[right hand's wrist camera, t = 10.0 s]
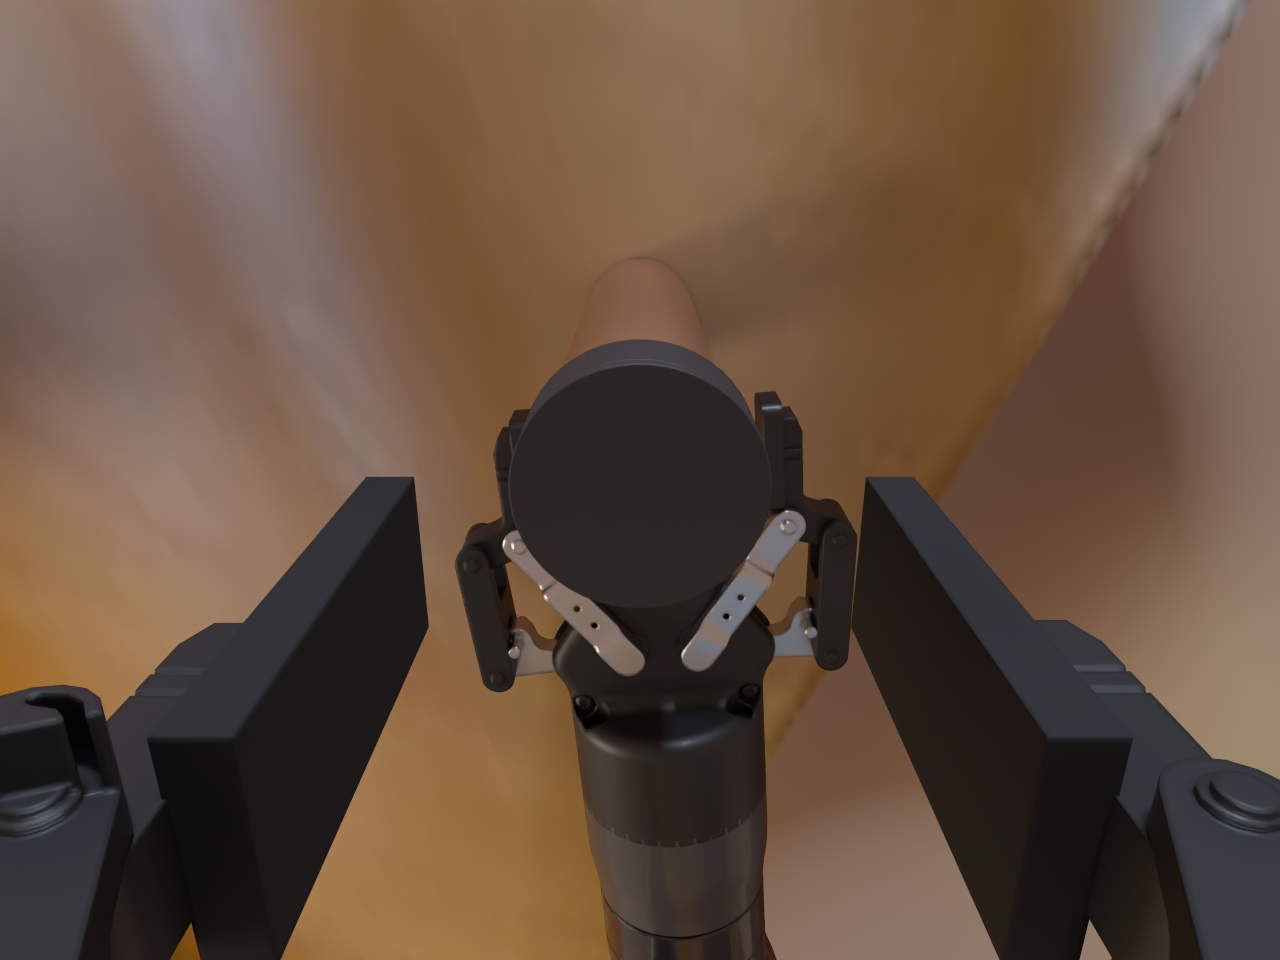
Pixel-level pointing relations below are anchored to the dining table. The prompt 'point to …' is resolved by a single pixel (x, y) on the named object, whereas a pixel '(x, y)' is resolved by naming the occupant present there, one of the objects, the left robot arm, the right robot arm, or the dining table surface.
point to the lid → (640, 475)
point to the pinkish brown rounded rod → (639, 309)
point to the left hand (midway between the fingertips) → (643, 406)
